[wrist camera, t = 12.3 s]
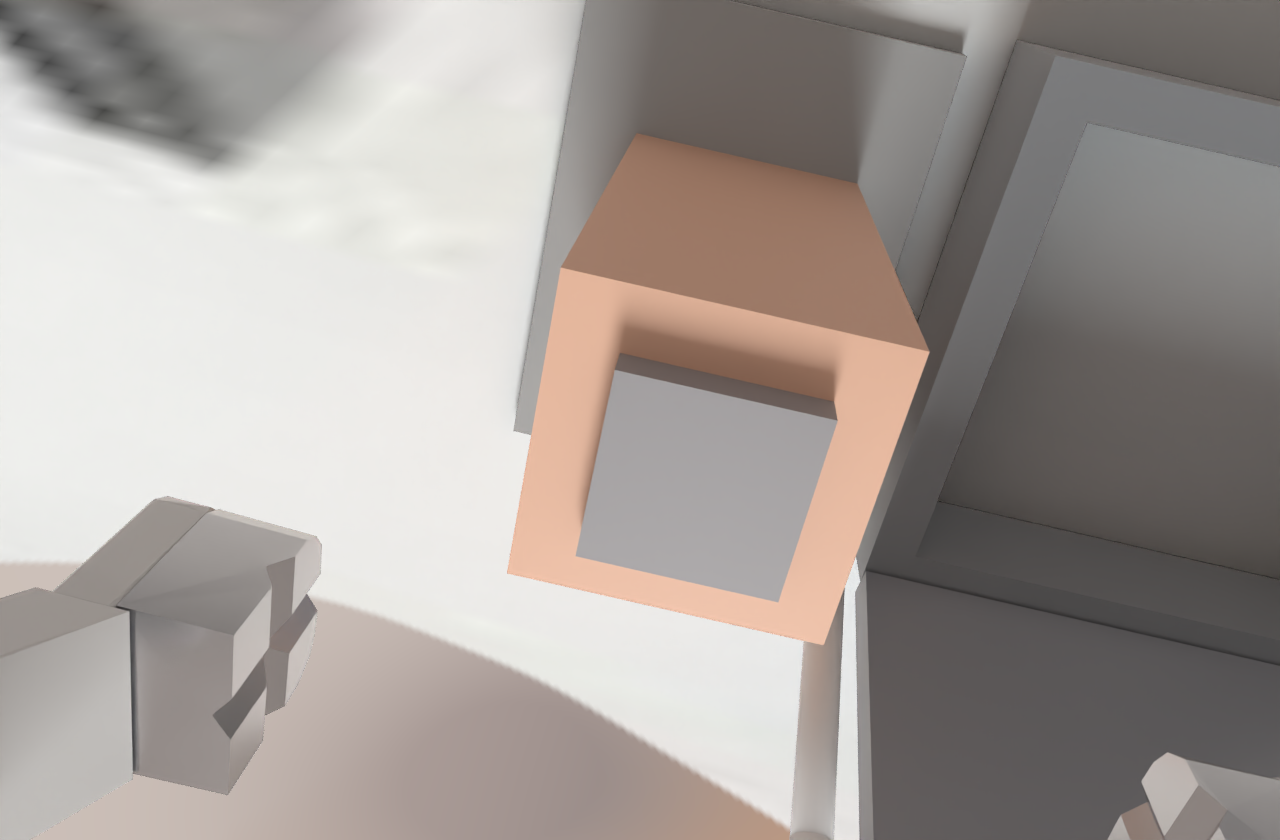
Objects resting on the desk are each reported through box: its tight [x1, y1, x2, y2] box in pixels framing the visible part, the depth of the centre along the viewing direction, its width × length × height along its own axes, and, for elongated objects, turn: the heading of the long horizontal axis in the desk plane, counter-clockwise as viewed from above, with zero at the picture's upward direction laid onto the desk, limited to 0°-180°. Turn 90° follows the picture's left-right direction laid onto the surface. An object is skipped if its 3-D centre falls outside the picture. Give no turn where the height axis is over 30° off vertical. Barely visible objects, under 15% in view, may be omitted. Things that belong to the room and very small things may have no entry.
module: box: [507, 133, 930, 645], centre depth 19 cm, size 5×5×11 cm
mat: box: [514, 0, 967, 435], centre depth 24 cm, size 8×11×1 cm
